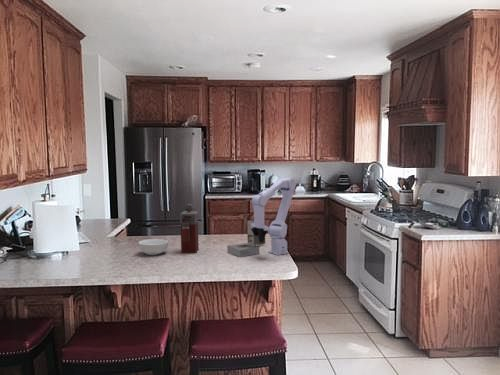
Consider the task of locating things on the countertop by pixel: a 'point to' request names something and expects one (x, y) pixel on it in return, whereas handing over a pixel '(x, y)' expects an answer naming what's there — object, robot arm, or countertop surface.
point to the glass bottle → (189, 230)
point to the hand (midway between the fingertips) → (259, 241)
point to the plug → (257, 242)
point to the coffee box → (250, 233)
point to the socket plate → (243, 249)
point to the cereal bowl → (153, 246)
